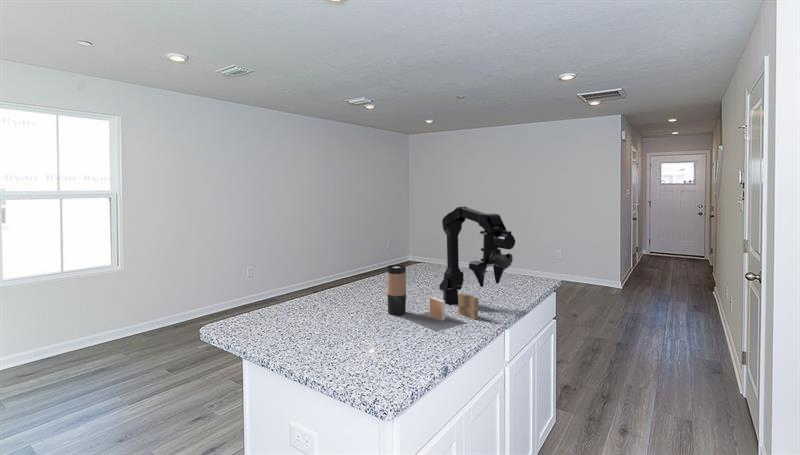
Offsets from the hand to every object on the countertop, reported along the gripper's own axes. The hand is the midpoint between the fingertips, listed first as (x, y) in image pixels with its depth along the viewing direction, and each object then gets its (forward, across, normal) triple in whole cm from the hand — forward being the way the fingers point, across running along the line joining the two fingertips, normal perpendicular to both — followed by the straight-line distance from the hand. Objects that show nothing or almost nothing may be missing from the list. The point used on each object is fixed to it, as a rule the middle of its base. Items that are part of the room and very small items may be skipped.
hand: (489, 285), depth 168 cm
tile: (+13, -17, +12) cm, 24 cm away
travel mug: (+14, -26, +27) cm, 40 cm away
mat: (+14, -20, +10) cm, 26 cm away
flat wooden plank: (+14, -6, +5) cm, 16 cm away
